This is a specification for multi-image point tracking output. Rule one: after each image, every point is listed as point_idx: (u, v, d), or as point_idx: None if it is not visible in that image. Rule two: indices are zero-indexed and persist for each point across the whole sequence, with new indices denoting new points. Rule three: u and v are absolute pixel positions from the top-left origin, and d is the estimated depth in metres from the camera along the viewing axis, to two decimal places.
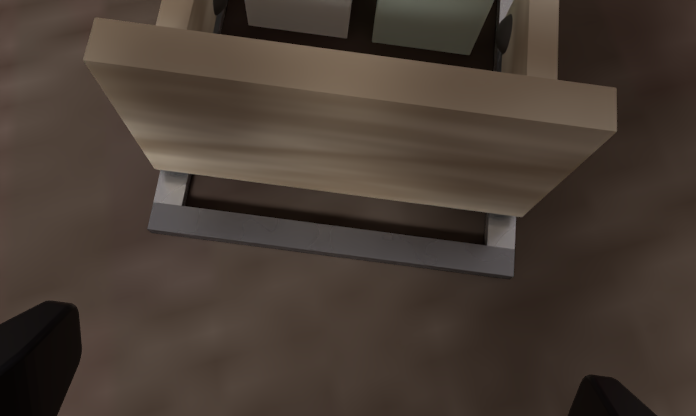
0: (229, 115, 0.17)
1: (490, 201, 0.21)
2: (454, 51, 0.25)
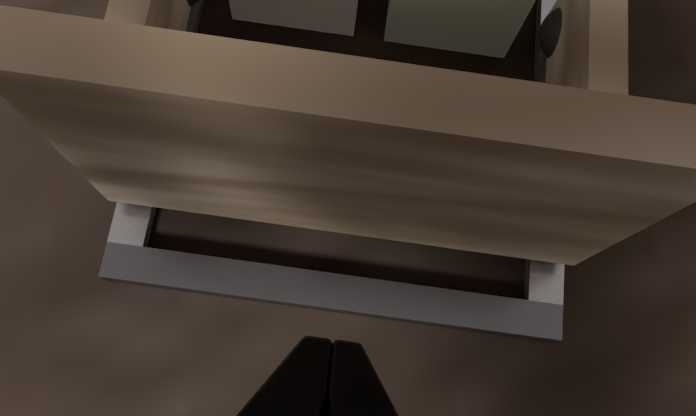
0: (191, 142, 0.12)
1: (537, 248, 0.16)
2: (485, 53, 0.21)
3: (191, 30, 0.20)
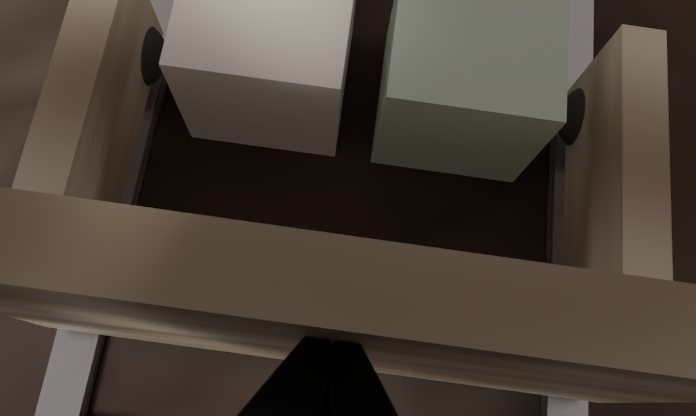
0: (121, 315, 0.10)
1: (559, 393, 0.14)
2: (490, 177, 0.18)
3: (140, 156, 0.17)
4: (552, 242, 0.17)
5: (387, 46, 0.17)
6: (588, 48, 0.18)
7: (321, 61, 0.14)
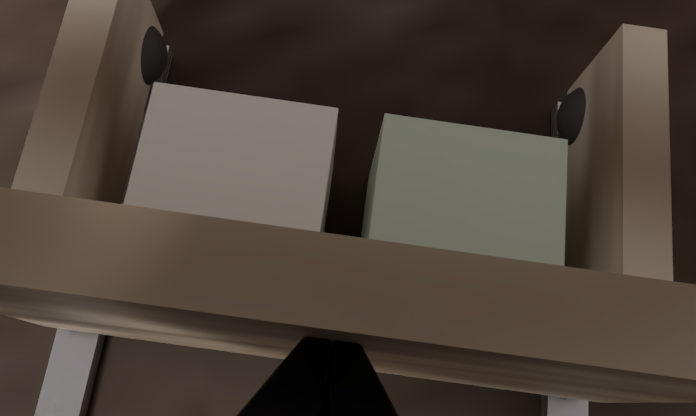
0: (121, 316, 0.10)
1: (559, 393, 0.14)
2: None
3: None
4: None
5: (368, 201, 0.16)
6: None
7: None
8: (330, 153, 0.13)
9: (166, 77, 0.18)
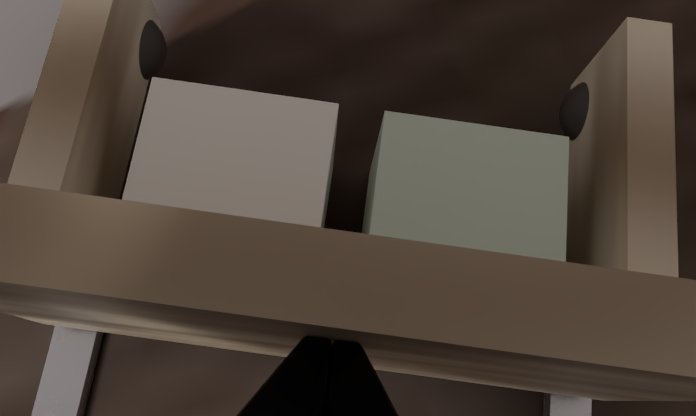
0: (118, 313, 0.09)
1: (562, 391, 0.13)
2: None
3: None
4: None
5: (368, 199, 0.15)
6: None
7: None
8: (330, 149, 0.13)
9: None
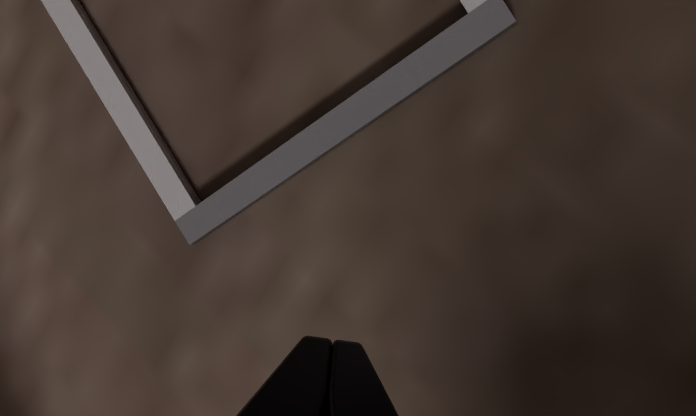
0: None
1: None
2: None
3: (91, 37, 0.22)
4: None
5: None
6: None
7: None
8: None
9: None
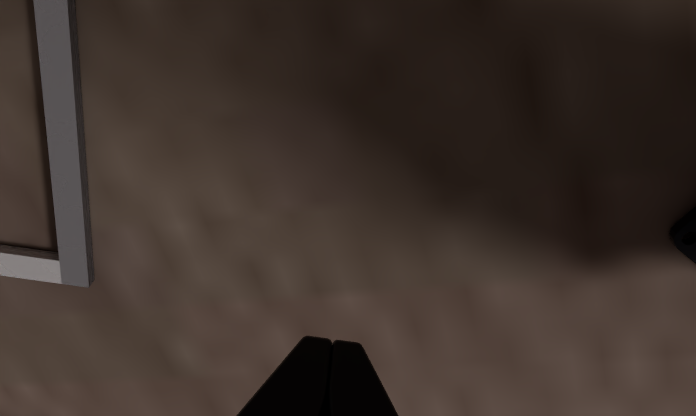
0: None
1: None
2: None
3: None
4: None
5: None
6: None
7: None
8: None
9: None
